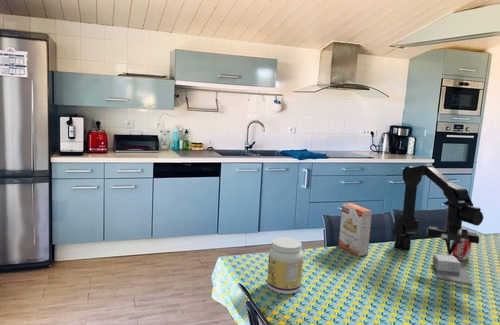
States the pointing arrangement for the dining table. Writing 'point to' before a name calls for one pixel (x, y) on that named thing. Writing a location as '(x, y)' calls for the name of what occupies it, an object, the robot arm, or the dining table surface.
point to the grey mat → (455, 275)
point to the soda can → (462, 250)
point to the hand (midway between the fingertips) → (449, 254)
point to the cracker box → (355, 229)
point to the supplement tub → (285, 265)
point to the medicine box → (446, 263)
